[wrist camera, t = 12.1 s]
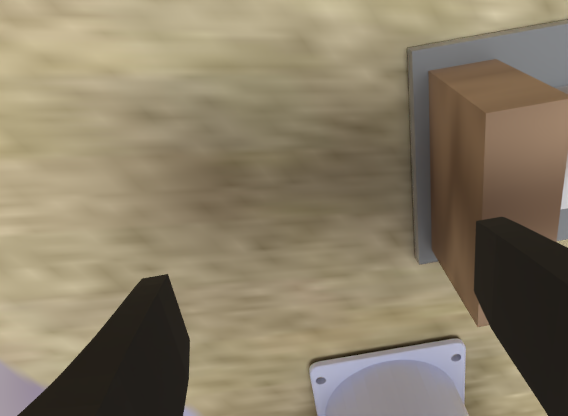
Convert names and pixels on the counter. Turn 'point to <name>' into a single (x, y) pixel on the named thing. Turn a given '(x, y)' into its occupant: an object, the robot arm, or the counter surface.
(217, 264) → the counter surface
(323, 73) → the counter surface
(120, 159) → the counter surface
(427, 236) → the tool rest
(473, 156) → the brown grey l-shaped piece
